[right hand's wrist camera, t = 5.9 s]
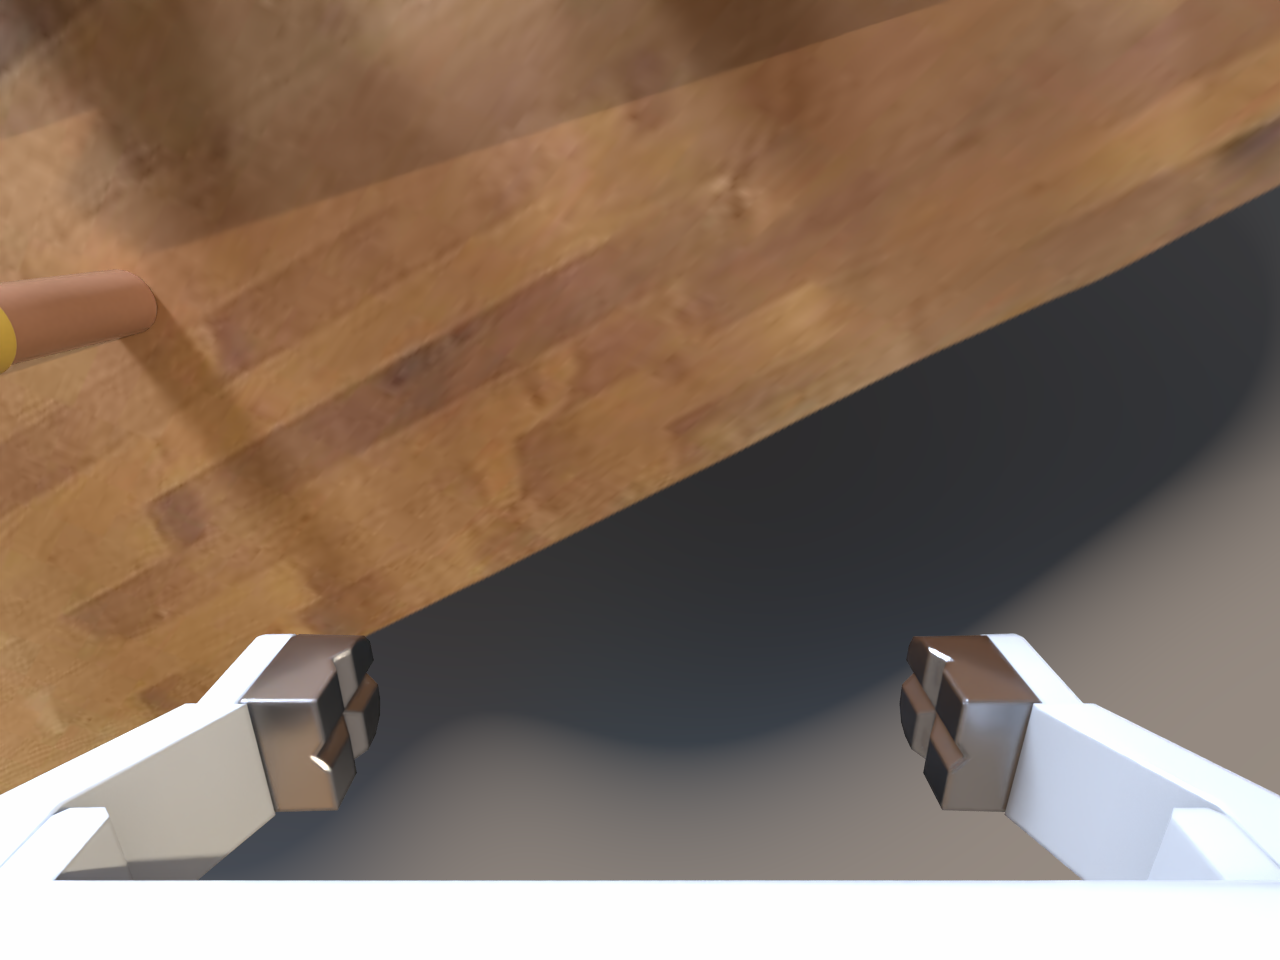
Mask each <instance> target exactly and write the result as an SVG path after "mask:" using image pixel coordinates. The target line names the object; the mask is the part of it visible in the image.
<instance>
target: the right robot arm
mask: <svg viewBox="0 0 1280 960" xmlns="http://www.w3.org/2000/svg"><path fill="white" fill-rule="evenodd" d="M373 660H374V659H373V655H372V650H371V645H370V641H369V640H368V639H367V638H366V637H365V636H358V635H310V634H299V635H296V634H265V635H262V636H259V637H257V638H256V639H255V640H254V641H253V642H252V643H251V644H250V645H249V646H248V648H247V649H246V650H245V651H244V652H243V653H242V654H241V655H240V656H239V657H238V659H237V660H236V661H235V662H234V663H233V664H232V665H231V666H230V667H229V669H228V670H227V671H226V672H225V673H224V674H223V675H222V676H221V677H220V679H219V680H218V681H217V682H216V683H215V684H214V685H213V686H212V687H211V689H210V690H209V691H208V692H207V693H206V694H205V695H204V696H203V697H202V698H201V700H200V701H199V702H198V703H197V704H184V705H182V706H180V707H178V708H176V709H174V710H172V711H170V712H168V713H166V714H164V715H162V716H160V717H158V718H156V719H154V720H152V721H150V722H148V723H146V724H144V725H142V726H140V727H138V728H136V729H134V730H132V731H129V732H127V733H125V734H123V735H121V736H119V737H117V738H115V739H113V740H111V741H109V742H107V743H105V744H103V745H101V746H99V747H97V748H95V749H93V750H91V751H89V752H87V753H85V754H83V755H81V756H79V757H77V758H75V759H73V760H71V761H69V762H67V763H65V764H63V765H61V766H59V767H57V768H55V769H53V770H51V771H49V772H47V773H44V774H42V775H40V776H38V777H36V778H34V779H32V780H30V781H28V782H26V783H24V784H22V785H20V786H18V787H16V788H14V789H12V790H10V791H8V792H6V793H4V794H2V795H0V960H1280V796H1279V795H1278V794H1275V793H1273V792H1271V791H1269V790H1267V789H1265V788H1263V787H1261V786H1259V785H1257V784H1255V783H1253V782H1251V781H1249V780H1247V779H1245V778H1243V777H1241V776H1239V775H1237V774H1235V773H1233V772H1231V771H1229V770H1227V769H1225V768H1223V767H1221V766H1219V765H1217V764H1215V763H1213V762H1211V761H1209V760H1207V759H1205V758H1203V757H1201V756H1199V755H1197V754H1195V753H1193V752H1191V751H1189V750H1187V749H1185V748H1183V747H1181V746H1179V745H1177V744H1175V743H1173V742H1171V741H1168V740H1167V739H1164V738H1162V737H1160V736H1158V735H1156V734H1154V733H1152V732H1150V731H1148V730H1146V729H1144V728H1142V727H1140V726H1138V725H1136V724H1134V723H1132V722H1130V721H1128V720H1126V719H1124V718H1122V717H1120V716H1118V715H1116V714H1114V713H1112V712H1110V711H1108V710H1106V709H1104V708H1102V707H1100V706H1098V705H1096V704H1083V703H1082V702H1081V701H1080V700H1079V699H1078V697H1077V696H1076V695H1075V694H1074V693H1073V692H1072V691H1071V690H1070V689H1069V687H1068V686H1067V685H1066V684H1065V683H1064V682H1063V681H1062V680H1061V679H1060V677H1059V676H1058V675H1057V674H1056V673H1055V672H1054V671H1053V670H1052V669H1051V667H1050V666H1049V665H1048V664H1047V663H1046V662H1045V661H1044V660H1043V659H1042V657H1041V656H1040V655H1039V654H1038V653H1037V652H1036V651H1035V650H1034V649H1033V647H1032V646H1031V645H1030V644H1029V643H1028V642H1027V641H1026V640H1025V639H1024V638H1023V637H1021V636H1019V635H1017V634H990V635H978V636H918V637H913V639H912V641H911V643H910V645H909V648H908V654H907V659H906V660H907V662H908V664H909V665H910V667H911V669H912V671H913V672H914V673H913V674H912V675H911V676H910V677H909V678H908V679H907V680H906V681H905V682H904V683H903V684H902V689H901V697H900V714H901V723H902V727H903V730H904V734H905V737H906V739H907V741H908V743H909V745H910V747H911V749H912V750H913V751H915V752H916V753H918V754H919V755H920V756H922V757H923V758H925V759H926V761H925V767H924V772H923V773H924V775H925V777H926V779H927V781H928V783H929V785H930V787H931V789H932V791H933V793H934V795H935V796H936V799H937V800H938V802H939V804H940V806H941V808H942V810H958V811H992V812H1005V815H1006V816H1007V817H1008V818H1009V819H1010V820H1012V821H1013V822H1014V823H1015V824H1016V825H1017V826H1019V827H1020V828H1021V829H1022V830H1023V831H1025V832H1026V833H1027V834H1028V835H1029V836H1031V837H1032V838H1033V839H1034V840H1035V841H1037V842H1038V843H1039V844H1040V845H1041V846H1043V847H1044V848H1045V849H1046V850H1047V851H1049V852H1050V853H1051V854H1052V855H1054V856H1055V857H1056V858H1057V859H1058V860H1059V861H1061V862H1062V863H1063V864H1064V865H1065V866H1067V867H1068V868H1069V869H1070V870H1071V871H1073V872H1074V873H1075V874H1076V875H1077V876H1079V877H1080V878H1081V879H1082V880H1061V881H855V880H853V881H852V880H851V881H850V880H847V881H845V880H841V881H840V880H837V881H836V880H683V881H681V880H679V881H678V880H677V881H676V880H673V881H672V880H671V881H669V880H668V881H197V880H198V879H199V878H200V877H202V876H203V875H204V874H205V873H206V872H208V871H209V870H210V869H211V868H212V867H214V866H215V865H216V864H217V863H218V862H220V861H221V860H222V859H223V858H224V857H226V856H227V855H228V854H229V853H230V852H232V851H233V850H234V849H235V848H236V847H238V846H239V845H240V844H241V843H242V842H244V841H245V840H246V839H247V838H248V837H250V836H251V835H252V834H253V833H254V832H256V831H257V830H258V829H259V828H260V827H262V826H263V825H264V824H265V823H266V822H268V821H269V820H270V819H271V818H272V817H274V816H275V812H287V811H322V810H338V808H339V806H340V805H341V802H342V800H343V799H344V797H345V795H346V793H347V791H348V789H349V787H350V785H351V783H352V781H353V779H354V777H355V775H356V773H357V772H356V766H355V761H354V759H355V758H357V757H358V756H360V755H361V754H362V753H364V752H365V751H367V750H368V749H369V747H370V745H371V743H372V741H373V739H374V736H375V734H376V730H377V725H378V721H379V716H380V695H379V689H378V684H377V683H376V682H375V681H374V680H373V679H372V678H371V677H370V676H369V675H368V674H367V673H366V672H367V671H368V669H369V667H370V665H371V664H372V662H373Z"/></svg>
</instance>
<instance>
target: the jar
mask: <svg viewBox="0 0 1280 960" xmlns="http://www.w3.org/2000/svg"><path fill="white" fill-rule="evenodd" d="M0 308H1V309H2V310H3V311H4V313H5V314H6V315H7V317H8V319H9V320H10V322H11V324H12V327H13V329H14V332H15V336H16V342H17V349H16V355H15V358H14V360H13V362H12V364H11V365H13V364H17V363H21V362H25V361H29V360H33V359H37V358H41V357H45V356H49V355H53V354H57V353H61V352H65V351H70V350H74V349H78V348H82V347H86V346H90V345H94V344H98V343H102V342H106V341H110V340H114V339H118V338H122V337H126V336H130V335H134V334H138V333H142V332H144V331H146V330H147V329H149V328H150V327H151V326H152V324H153V323H154V321H155V319H156V315H157V304H156V300H155V297H154V295H153V293H152V291H151V290H150V288H149V287H148V286H147V285H146V283H145V282H144V281H142V280H141V279H140V278H139V277H137V276H136V275H134V274H132V273H130V272H127V271H124V270H119V269H113V270H104V271H96V272H87V273H78V274H70V275H61V276H52V277H44V278H35V279H27V280H18V281H9V282H1V283H0Z"/></svg>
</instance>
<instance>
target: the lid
mask: <svg viewBox="0 0 1280 960" xmlns="http://www.w3.org/2000/svg"><path fill="white" fill-rule="evenodd" d="M16 349H17V342H16V336H15V332H14V329H13V327H12V324H11V322H10V320H9V319H8V317H7V315H6V314H5V313H4V311H3V310H2V309H1V308H0V374H1V373H3V372H5V371H6V370H7V369H8V368H9V367H10V365H11V364H12V362H13V360H14V358H15V355H16Z"/></svg>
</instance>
